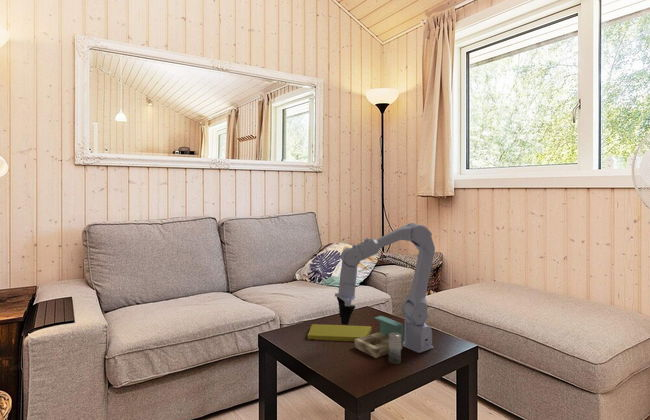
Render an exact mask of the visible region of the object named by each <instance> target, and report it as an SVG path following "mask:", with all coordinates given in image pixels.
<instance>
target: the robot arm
mask: <svg viewBox="0 0 650 420" xmlns="http://www.w3.org/2000/svg"><path fill="white" fill-rule="evenodd" d="M432 236H433V233H432V232H431V231H430V230H429V228H428V227H427V226H426V225H421V224H417V223H413V222H412V223H411V222H410V223H408V224H405V225H402V226H400V227H399V228H396V229H394V230H393V231H391V232H389V233H386V234H384V235H383V236H380V237H379V238H377V239H374V238H371V237H370V238H368V237H366V238H364V240H363V241H362V242H360V243H357V244H352V245H351V246H352V247H346V248H344V249H343V251H342V252H341V254H340V255H339V256H340V259H341V268H340V273H339V274H340V276H339V286H338V293H334V297H336V300H337V303H338V313H339V315H338V316H339V318H340V322H341V325H348V326H349V322H350V318H351V316H352V314H353V311H354V310H355V309H356V305H355V304H354V305H353V304H352V302H353V301H354V300H355V298H356V284H357V276H358V265H359V264H360V262H361V261H364V260H366V259H369V258H371V257H373V256H375V255H377V254H379V251H380V249H382V248H384V247H387V246H389V245H391V244H395V243H396V242H398V241H405V242H411V243H412V244H413V245H414V246H415V247H416V249H417V250H418V254H417V258H416V259H417V260H416V264H415V270H414V273H413V274H414V275H413V279H412V284H411V289H410V292H409V294H408V295H407V296H406V301H404V303H403V305H402V312H403V314H404V315H405V317H404V330H403V348H406V349H408V350H411V351H413V352H416V353H419V354H420V353H423V352H426V351H428V350H431V349H434V346H433V330H432V328H431V326H429V325H428V324H427V323H426V321H427V320H428V318H429V312H428V302H427V297H426V296H427V291H428V285H429V280H430V276H431V272H432V266H433V261H434V255H435V252H436V251H435V250H436V248H435V244H434V241H433V237H432Z"/></svg>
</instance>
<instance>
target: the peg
mask: <svg viewBox="0 0 650 420" xmlns="http://www.w3.org/2000/svg"><path fill="white" fill-rule="evenodd" d="M388 362H389V363H390V364H394V365H398V364H399V365H400V364H401V363H402V349H401V334H400V333H396V332H392V333H389V354H388Z"/></svg>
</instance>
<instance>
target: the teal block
mask: <svg viewBox="0 0 650 420" xmlns="http://www.w3.org/2000/svg"><path fill="white" fill-rule="evenodd" d="M374 320H375V321H378V322H379V332H381V333H383V334H385V335H388V336H389V333H392V332H396V333H400V334H401V341H403V342H404V323H402V322H399V321H397V320H393V319H391V318H389V317H387V316H383V315H378V316H375V317H374Z"/></svg>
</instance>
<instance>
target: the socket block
mask: <svg viewBox="0 0 650 420" xmlns="http://www.w3.org/2000/svg"><path fill="white" fill-rule="evenodd" d="M403 342H404V340H403V341H401V350H403V348H404V346H403ZM354 348H355V349H358V351H361V352H363V353H364V354H367V355H369V356H371V357H373V358H374V359H377V358H380V357H383V356H386V355H389V336H388V335H385V334H383V333H381V332H380V331H379V332H376V333H372V334H369V335H368V336H364V337H361V338H357V339H355V341H354Z"/></svg>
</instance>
